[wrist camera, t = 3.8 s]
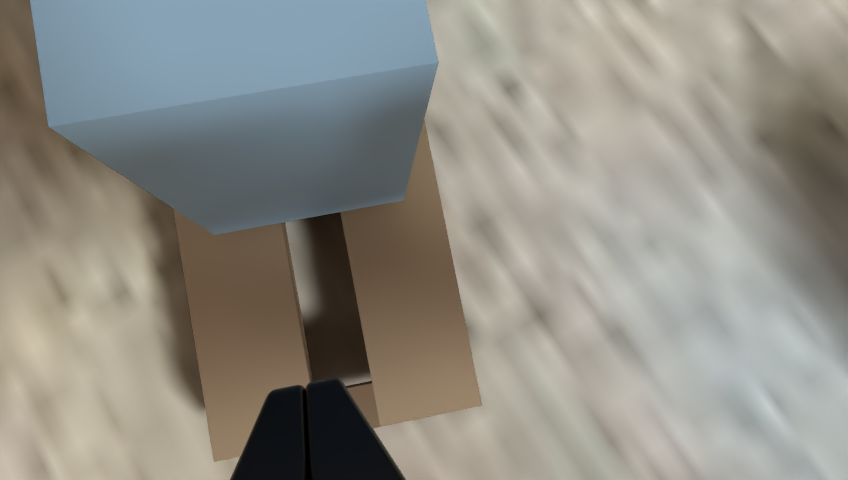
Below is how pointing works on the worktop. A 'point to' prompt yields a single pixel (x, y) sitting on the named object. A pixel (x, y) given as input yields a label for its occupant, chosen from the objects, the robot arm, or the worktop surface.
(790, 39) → the worktop surface
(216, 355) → the slotted wooden board
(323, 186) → the rider
